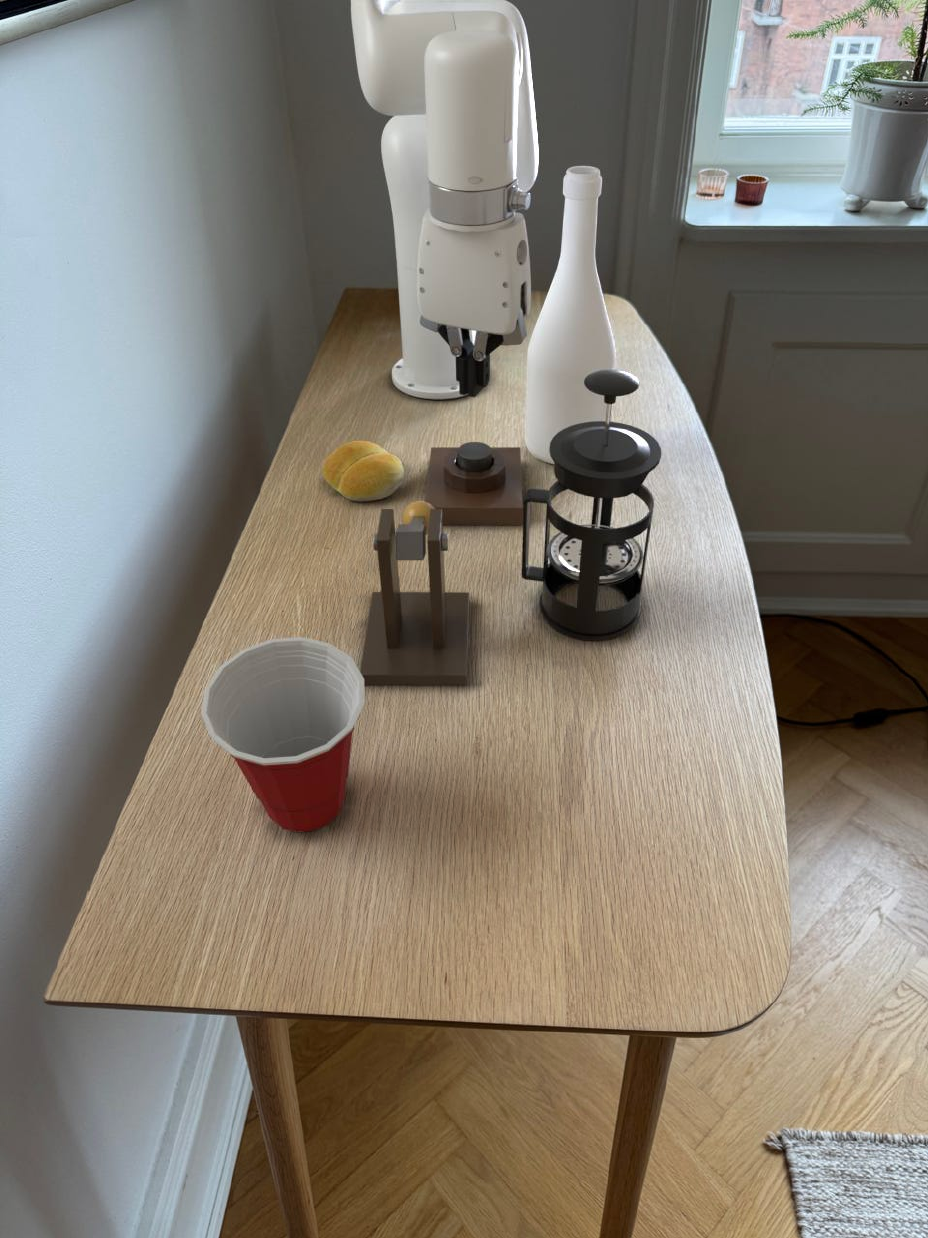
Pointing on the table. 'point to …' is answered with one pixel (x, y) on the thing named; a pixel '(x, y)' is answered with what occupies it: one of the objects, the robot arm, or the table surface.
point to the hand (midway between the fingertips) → (472, 389)
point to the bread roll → (363, 471)
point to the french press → (595, 519)
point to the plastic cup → (288, 725)
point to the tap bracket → (415, 618)
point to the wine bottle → (569, 326)
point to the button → (474, 457)
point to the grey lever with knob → (413, 532)
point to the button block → (476, 488)
